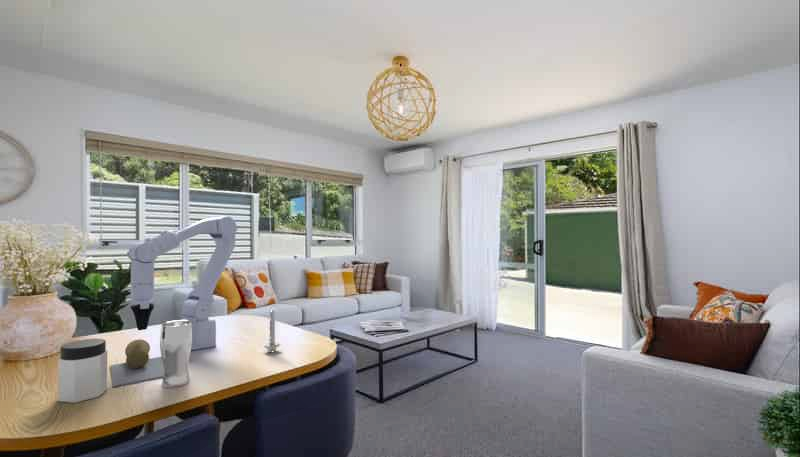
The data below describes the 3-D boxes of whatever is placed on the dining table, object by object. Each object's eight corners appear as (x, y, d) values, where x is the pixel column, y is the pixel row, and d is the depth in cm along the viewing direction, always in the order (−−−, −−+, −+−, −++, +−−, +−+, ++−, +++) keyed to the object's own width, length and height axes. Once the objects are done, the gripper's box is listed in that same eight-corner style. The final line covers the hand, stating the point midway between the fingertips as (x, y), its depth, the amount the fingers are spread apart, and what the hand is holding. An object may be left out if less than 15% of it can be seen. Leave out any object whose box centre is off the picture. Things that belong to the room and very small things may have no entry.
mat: (172, 356, 117) (172, 354, 117) (182, 373, 102) (182, 372, 102) (110, 366, 107) (110, 365, 107) (112, 387, 93) (112, 386, 93)
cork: (141, 363, 113) (142, 374, 104) (120, 355, 111) (118, 367, 101) (154, 343, 115) (155, 353, 106) (133, 336, 112) (132, 345, 103)
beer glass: (168, 391, 91) (169, 328, 92) (153, 384, 95) (154, 324, 95) (197, 381, 97) (197, 322, 97) (182, 375, 101) (182, 318, 101)
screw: (261, 353, 119) (267, 349, 124) (276, 354, 119) (282, 349, 124) (261, 311, 119) (267, 308, 124) (277, 312, 119) (282, 308, 124)
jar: (102, 384, 95) (102, 336, 95) (111, 393, 90) (112, 342, 90) (54, 396, 88) (54, 344, 88) (61, 407, 83) (61, 351, 83)
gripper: (124, 281, 116) (123, 326, 116) (127, 287, 105) (127, 337, 105) (152, 279, 121) (151, 323, 121) (157, 285, 109) (157, 333, 109)
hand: (142, 329), depth 113 cm, fingers closed
